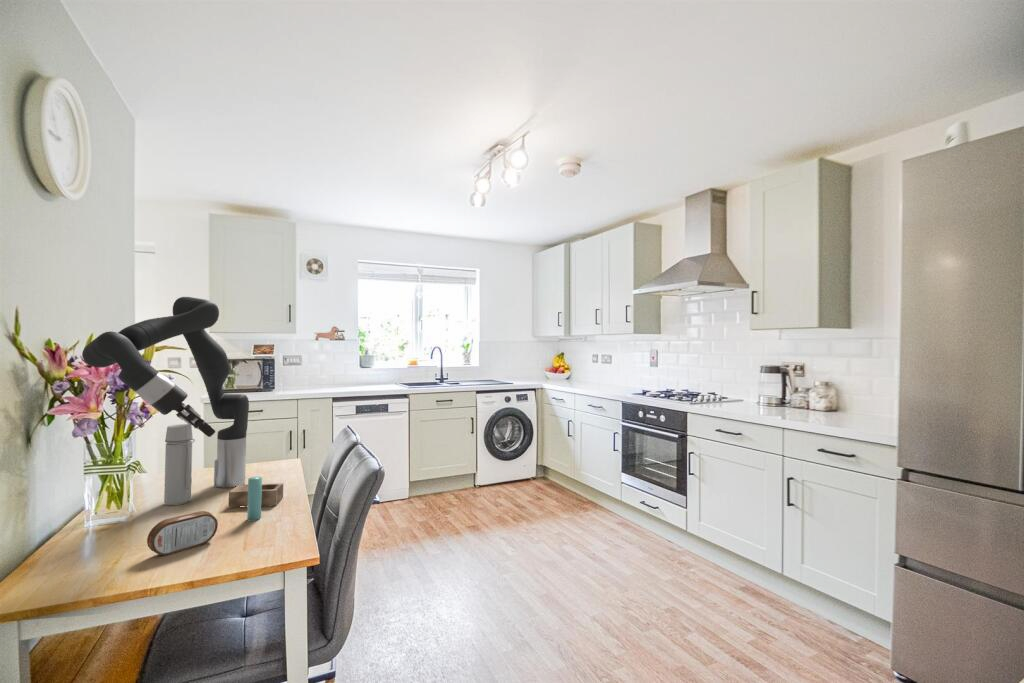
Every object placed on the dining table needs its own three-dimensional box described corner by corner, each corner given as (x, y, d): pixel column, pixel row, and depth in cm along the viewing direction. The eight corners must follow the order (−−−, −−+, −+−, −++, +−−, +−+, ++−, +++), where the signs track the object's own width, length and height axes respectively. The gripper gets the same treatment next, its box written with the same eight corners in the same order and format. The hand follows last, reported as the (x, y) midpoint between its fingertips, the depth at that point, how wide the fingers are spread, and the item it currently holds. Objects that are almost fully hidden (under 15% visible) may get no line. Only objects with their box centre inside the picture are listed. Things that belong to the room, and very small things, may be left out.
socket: (228, 507, 151) (228, 492, 151) (238, 499, 158) (238, 484, 159) (276, 505, 153) (276, 490, 153) (283, 498, 161) (283, 483, 161)
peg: (245, 521, 140) (246, 480, 140) (249, 516, 143) (250, 476, 143) (258, 520, 140) (259, 479, 141) (262, 516, 144) (263, 476, 144)
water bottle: (157, 505, 152) (159, 426, 152) (181, 497, 159) (183, 423, 160) (177, 508, 149) (180, 428, 149) (201, 501, 157) (203, 425, 157)
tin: (213, 538, 127) (214, 506, 127) (219, 541, 126) (219, 509, 126) (146, 557, 115) (146, 522, 115) (150, 561, 113) (151, 525, 113)
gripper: (176, 385, 124) (225, 425, 131) (172, 381, 135) (218, 419, 142) (150, 406, 121) (202, 446, 128) (148, 401, 132) (196, 438, 139)
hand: (210, 432), depth 135 cm, fingers open, 8 cm apart
